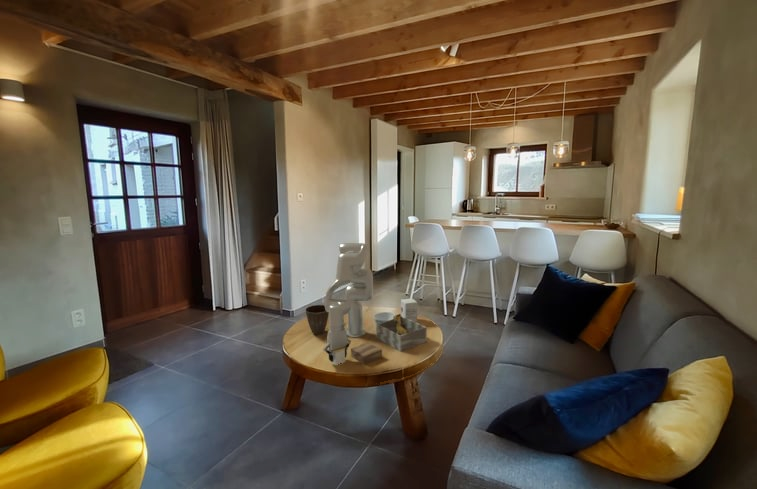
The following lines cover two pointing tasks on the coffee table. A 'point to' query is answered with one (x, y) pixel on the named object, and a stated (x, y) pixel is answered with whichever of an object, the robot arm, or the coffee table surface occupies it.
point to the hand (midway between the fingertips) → (337, 358)
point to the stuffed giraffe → (399, 325)
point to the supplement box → (409, 309)
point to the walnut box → (366, 353)
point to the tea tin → (339, 356)
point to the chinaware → (383, 317)
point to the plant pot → (317, 318)
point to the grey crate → (401, 342)
